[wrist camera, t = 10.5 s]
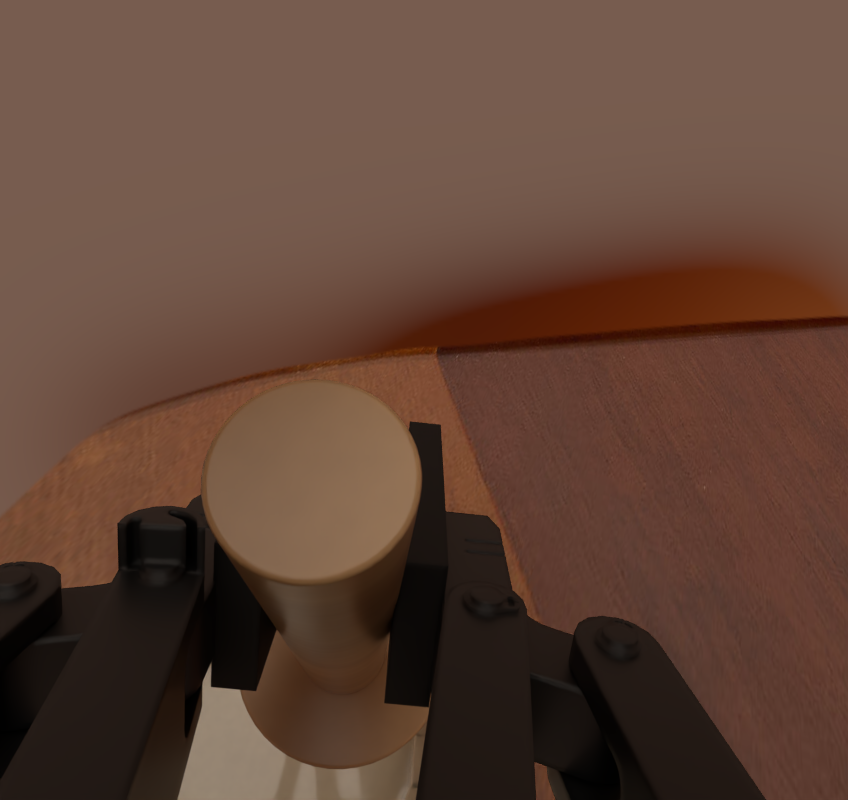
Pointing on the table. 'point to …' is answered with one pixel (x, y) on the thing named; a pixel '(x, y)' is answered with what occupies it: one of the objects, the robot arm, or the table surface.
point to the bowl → (280, 762)
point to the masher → (320, 561)
